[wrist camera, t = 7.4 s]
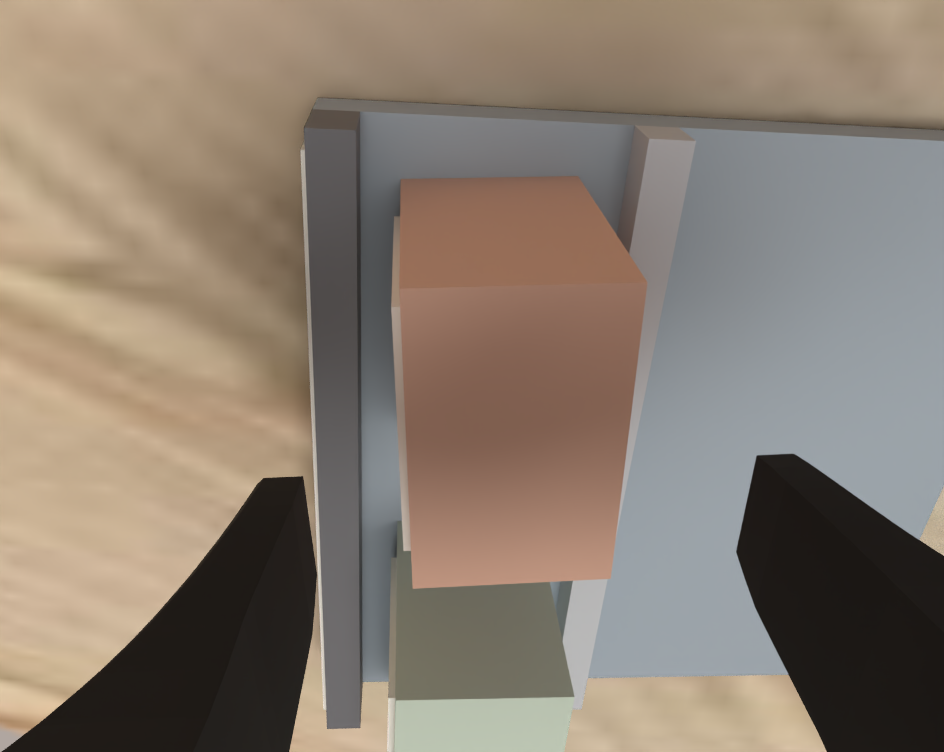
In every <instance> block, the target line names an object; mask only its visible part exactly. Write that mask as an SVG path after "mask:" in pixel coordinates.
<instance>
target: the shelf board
mask: <svg viewBox="0 0 944 752" xmlns="http://www.w3.org/2000/svg"><path fill="white" fill-rule="evenodd" d="M300 153H301V177H302V201H303V226H304V250H305V274H306V298H307V322H308V346H309V370H310V395H311V419H312V443H313V467H314V491H315V515H316V539H317V563H318V588H319V612H320V636H321V660H322V684H323V708H324V710H326V712H327V729H339V728H360V722H361V703H362V684H363V682H389V637H390V585H391V558H397V521H402V511H401V491H400V471H399V451H398V432H397V412H396V392H395V372H394V353H393V333H392V313H391V297H392V265H393V233H394V216H400V184H401V179H426V178H487V177H547V176H578V177H579V178H580V180H581V181H582V183H583V184H584V186H585V187H586V189H587V191H588V192H589V194H590V195H591V197H592V198H593V200H594V201H595V203H596V204H597V206H598V207H599V209H600V210H601V212H602V213H603V215H604V216H605V218H606V220H607V221H608V223H609V224H610V226H611V227H612V229H613V230H614V232H615V233H616V235H617V236H618V238H619V239H620V241H621V242H622V244H623V246H624V247H625V249H626V250H627V252H628V253H629V255H630V256H631V258H632V259H633V261H634V262H635V264H636V265H637V267H638V268H639V270H640V272H641V273H642V275H643V276H644V278H645V279H646V281H647V282H648V283H647V291H646V299H645V307H644V315H643V323H642V331H641V339H640V347H639V355H638V363H637V371H636V379H635V387H634V396H633V404H632V412H631V420H630V428H629V436H628V444H627V452H626V460H625V468H624V476H623V484H622V492H621V500H620V508H619V516H618V524H617V532H616V540H615V548H614V556H613V564H612V573H611V579H598V580H578V581H558V582H550V586H551V590H552V595H553V600H554V604H555V609H556V613H557V618H558V623H559V627H560V632H561V636H562V641H563V646H564V650H565V655H566V659H567V664H568V669H569V673H570V678H571V682H572V687H573V692H574V696H575V698H574V703H573V708H572V709H582V704H583V699H584V694H585V689H586V684H587V679H588V678H622V677H680V676H738V675H789V674H788V672H787V670H786V669H785V667H784V665H783V663H782V661H781V659H780V657H779V655H778V653H777V651H776V649H775V647H774V645H773V643H772V641H771V639H770V637H769V635H768V633H767V631H766V629H765V627H764V625H763V623H762V621H761V619H760V617H759V615H758V613H757V610H756V608H755V606H754V603H753V600H752V598H751V595H750V592H749V589H748V587H747V584H746V581H745V578H744V575H743V572H742V569H741V566H740V563H739V560H738V556H737V553H736V549H737V545H738V540H739V535H740V531H741V526H742V521H743V517H744V512H745V507H746V503H747V498H748V493H749V488H750V484H751V479H752V474H753V470H754V465H755V460H756V456H757V455H774V454H795V455H797V456H799V457H800V458H802V459H803V460H805V461H806V462H808V463H809V464H811V465H812V466H814V467H815V468H817V469H818V470H820V471H821V472H822V473H824V474H825V475H827V476H828V477H830V478H831V479H832V480H834V481H835V482H837V483H838V484H839V485H841V486H842V487H844V488H845V489H846V490H848V491H849V492H851V493H852V494H853V495H855V496H856V497H858V498H859V499H860V500H862V501H863V502H865V503H866V504H867V505H869V506H870V507H872V508H873V509H875V510H876V511H877V512H879V513H880V514H882V515H883V516H885V517H886V518H887V519H889V520H890V521H892V522H893V523H895V524H896V525H898V526H899V527H900V528H902V529H903V530H905V531H906V532H908V533H909V534H911V535H912V536H914V537H915V538H917V539H918V540H919V539H920V537H921V535H922V533H923V530H924V528H925V526H926V524H927V522H928V519H929V517H930V515H931V513H932V510H933V508H934V506H935V504H936V502H937V499H938V497H939V495H940V493H941V490H942V488H943V486H944V130H931V129H912V128H893V127H874V126H854V125H835V124H816V123H797V122H777V121H758V120H739V119H720V118H700V117H681V116H662V115H643V114H624V113H604V112H585V111H566V110H547V109H527V108H508V107H489V106H470V105H450V104H431V103H412V102H393V101H373V100H354V99H335V98H317V100H316V102H315V105H314V107H313V109H312V111H311V113H310V116H309V118H308V120H307V122H306V124H305V127H304V142H303V145H302V147H301V149H300Z"/></svg>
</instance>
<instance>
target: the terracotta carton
mask: <svg viewBox="0 0 944 752" xmlns="http://www.w3.org/2000/svg"><path fill="white" fill-rule="evenodd" d="M647 283H648V282H647V281H646V279H645V278H644V276H643V275H642V273H641V272H640V270H639V268H638V267H637V265H636V264H635V262H634V261H633V259H632V258H631V256H630V255H629V253H628V252H627V250H626V249H625V247H624V246H623V244H622V242H621V241H620V239H619V238H618V236H617V235H616V233H615V232H614V230H613V229H612V227H611V226H610V224H609V223H608V221H607V220H606V218H605V216H604V215H603V213H602V212H601V210H600V209H599V207H598V206H597V204H596V203H595V201H594V200H593V198H592V197H591V195H590V194H589V192H588V191H587V189H586V187H585V186H584V184H583V183H582V181H581V180H580V178H579V177H578V176H547V177H487V178H426V179H401V184H400V216H394V233H393V265H392V297H391V313H392V333H393V353H394V372H395V392H396V412H397V432H398V451H399V471H400V491H401V511H402V531H403V550H404V551H411V563H412V585H413V589H419V588H438V587H458V586H478V585H498V584H518V583H538V582H558V581H578V580H598V579H611V573H612V564H613V556H614V548H615V540H616V532H617V524H618V516H619V508H620V500H621V492H622V484H623V476H624V468H625V460H626V452H627V444H628V436H629V428H630V420H631V412H632V404H633V396H634V387H635V379H636V371H637V363H638V355H639V347H640V339H641V331H642V323H643V315H644V307H645V299H646V291H647Z"/></svg>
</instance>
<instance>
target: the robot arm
mask: <svg viewBox="0 0 944 752" xmlns="http://www.w3.org/2000/svg"><path fill="white" fill-rule="evenodd" d="M736 553H737V556H738V560H739V563H740V566H741V569H742V572H743V575H744V578H745V581H746V584H747V587H748V589H749V592H750V595H751V598H752V600H753V603H754V606H755V608H756V610H757V613H758V615H759V617H760V619H761V621H762V623H763V625H764V627H765V629H766V631H767V633H768V635H769V637H770V639H771V641H772V643H773V645H774V647H775V649H776V651H777V653H778V655H779V657H780V659H781V661H782V663H783V665H784V667H785V669H786V670H787V672H788V674H789V676H790V678H791V680H792V682H793V684H794V686H795V688H796V690H797V692H798V694H799V696H800V698H801V700H802V702H803V704H804V706H805V708H806V710H807V712H808V714H809V715H810V717H811V719H812V721H813V723H814V725H815V727H816V729H817V731H818V733H819V735H820V737H821V740H822V742H823V744H824V746H825V748H826V751H827V752H944V556H943V555H942V554H940V553H938V552H937V551H935V550H934V549H932V548H931V547H929V546H927V545H926V544H924V543H923V542H921V541H920V540H918V539H917V538H915V537H914V536H912V535H911V534H909V533H908V532H906V531H905V530H903V529H902V528H900V527H899V526H898V525H896V524H895V523H893V522H892V521H890V520H889V519H887V518H886V517H885V516H883V515H882V514H880V513H879V512H877V511H876V510H875V509H873V508H872V507H870V506H869V505H867V504H866V503H865V502H863V501H862V500H860V499H859V498H858V497H856V496H855V495H853V494H852V493H851V492H849V491H848V490H846V489H845V488H844V487H842V486H841V485H839V484H838V483H837V482H835V481H834V480H832V479H831V478H830V477H828V476H827V475H825V474H824V473H822V472H821V471H820V470H818V469H817V468H815V467H814V466H812V465H811V464H809V463H808V462H806V461H805V460H803V459H802V458H800V457H799V456H797V455H795V454H774V455H757V456H756V460H755V465H754V470H753V474H752V479H751V484H750V488H749V493H748V498H747V503H746V507H745V512H744V517H743V521H742V526H741V531H740V535H739V540H738V545H737V549H736ZM316 578H317V572H316V565H315V558H314V551H313V544H312V537H311V530H310V522H309V515H308V508H307V501H306V494H305V487H304V480H303V476H301V477H279V478H263V479H262V480H261V481H260V482H259V483H258V484H257V485H256V487H255V488H254V490H253V491H252V493H251V494H250V496H249V497H248V499H247V500H246V502H245V503H244V505H243V506H242V507H241V509H240V510H239V512H238V513H237V515H236V516H235V517H234V519H233V520H232V522H231V523H230V524H229V526H228V527H227V528H226V530H225V531H224V533H223V534H222V535H221V537H220V538H219V539H218V541H217V542H216V543H215V544H214V546H213V547H212V548H211V550H210V551H209V552H208V553H207V555H206V556H205V557H204V559H203V560H202V561H201V562H200V564H199V565H198V566H197V568H196V569H195V570H194V571H193V573H192V574H191V575H190V576H189V577H188V579H187V580H186V581H185V582H184V583H183V584H182V586H181V587H180V588H179V589H178V590H177V591H176V593H175V594H174V595H173V596H172V597H171V598H170V599H169V601H168V602H167V603H166V604H165V605H164V606H163V607H162V609H161V610H160V611H159V612H158V613H157V614H156V615H155V617H154V618H153V619H152V620H151V621H150V622H149V623H148V624H147V625H146V626H145V627H144V628H143V629H142V630H141V631H140V632H139V633H138V635H137V636H136V637H135V638H134V639H133V640H132V641H131V642H130V643H129V644H128V645H127V646H126V647H125V648H124V649H123V650H122V651H121V652H119V653H118V654H117V655H116V656H115V657H114V658H113V659H112V660H111V661H110V662H109V663H108V664H107V665H106V666H105V667H104V668H103V669H102V670H101V671H100V672H98V673H97V674H96V675H95V676H94V677H93V678H92V679H91V680H89V681H88V682H87V683H86V684H85V685H84V686H83V687H82V688H80V689H79V690H78V691H77V692H76V693H75V694H73V695H72V696H71V697H70V698H69V699H68V700H66V701H65V702H64V703H63V704H62V705H60V706H59V707H58V708H57V709H56V710H55V711H53V712H52V713H51V714H50V715H49V716H47V717H46V718H45V719H44V720H43V721H41V722H40V723H39V724H38V725H36V726H35V727H34V728H32V729H31V730H30V731H28V732H27V733H26V734H24V735H23V736H22V737H21V738H19V739H18V740H17V741H15V742H14V743H13V744H11V745H10V746H9V747H7V749H5V750H3V751H2V752H289V750H290V744H291V739H292V734H293V729H294V724H295V719H296V714H297V709H298V704H299V699H300V694H301V689H302V684H303V679H304V674H305V669H306V664H307V659H308V654H309V648H310V643H311V638H312V631H313V619H314V607H315V592H316Z"/></svg>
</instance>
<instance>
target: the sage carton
mask: <svg viewBox="0 0 944 752" xmlns="http://www.w3.org/2000/svg"><path fill="white" fill-rule="evenodd" d="M574 698H575V696H574V692H573V687H572V682H571V678H570V673H569V669H568V664H567V659H566V655H565V650H564V646H563V641H562V636H561V632H560V627H559V623H558V618H557V613H556V609H555V604H554V600H553V595H552V590H551V586H550V582H538V583H518V584H498V585H478V586H458V587H438V588H419V589H413V585H412V563H411V551H404V550H403V531H402V521H397V558H391V585H390V637H389V688H388V740H387V752H564V750H565V745H566V739H567V734H568V729H569V724H570V719H571V714H572V708H573V703H574Z"/></svg>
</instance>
